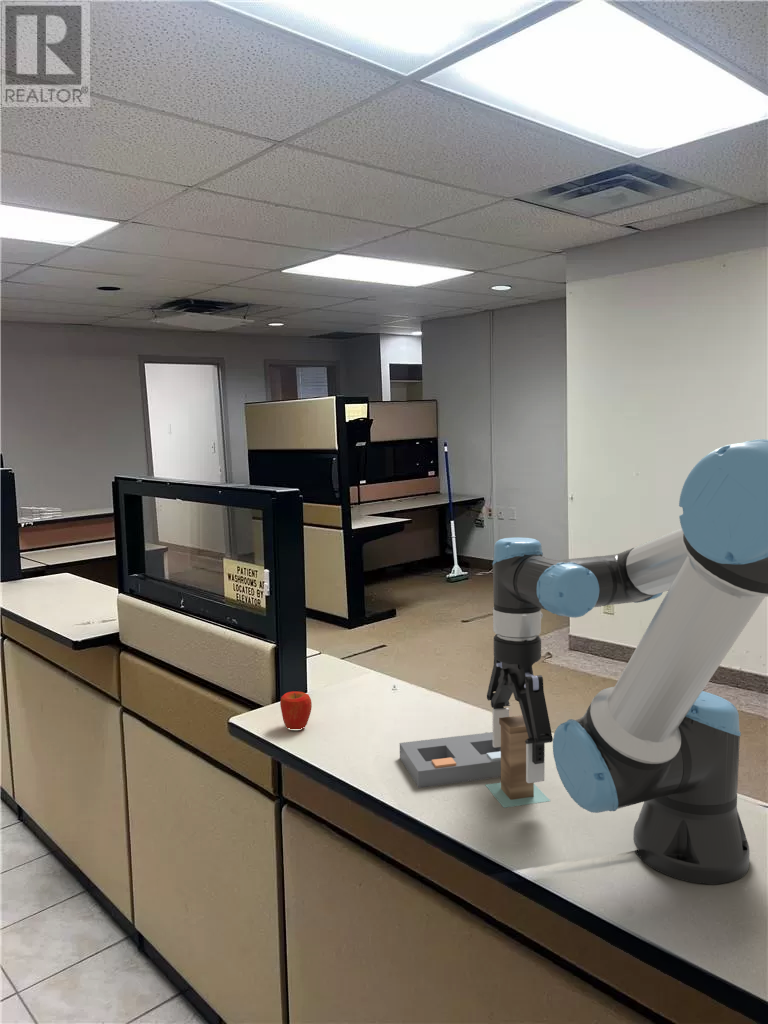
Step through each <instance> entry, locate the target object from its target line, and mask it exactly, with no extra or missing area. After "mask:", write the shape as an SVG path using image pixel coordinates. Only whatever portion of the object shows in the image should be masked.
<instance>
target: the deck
mask: <svg viewBox="0 0 768 1024" xmlns="http://www.w3.org/2000/svg"><path fill="white" fill-rule="evenodd" d="M484 786H485V787H486V788H487V789H488V790H489V792H490V793H491V794H492V795H493V797H494V798H495V799H496V800H497V801H498V803H499V804H500V805H501V806H502V808H504V809H507V808H513V807H519V806H525V805H533V804H541V803H546V802H551V799H550V798H549V797H548V796H547V795H546V794H545V793H544V792H543V791H542V790H541V789H540V788H539V787H538V786H537V785H536V784H535V783H534V797H528V798H520V799H513V800H510V799H509V797H508V796H507V795H506V794H505V793H504V792H503V790H502V789H501V782H496V783H488V784H487V783H486V784H485V785H484Z"/></svg>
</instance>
